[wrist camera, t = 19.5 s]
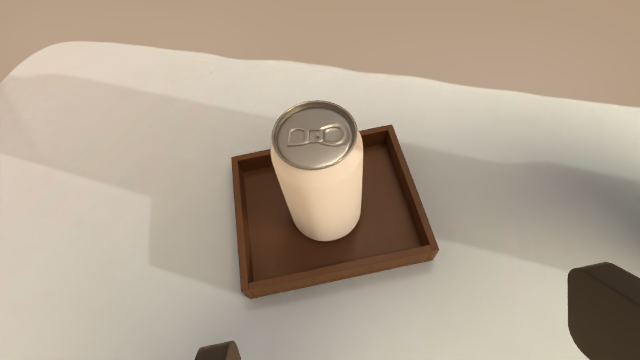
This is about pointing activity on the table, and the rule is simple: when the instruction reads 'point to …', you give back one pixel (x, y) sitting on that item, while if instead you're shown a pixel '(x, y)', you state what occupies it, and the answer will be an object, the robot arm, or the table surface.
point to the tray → (339, 255)
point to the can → (319, 168)
